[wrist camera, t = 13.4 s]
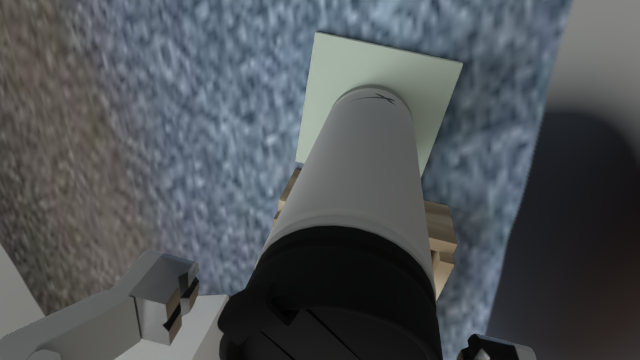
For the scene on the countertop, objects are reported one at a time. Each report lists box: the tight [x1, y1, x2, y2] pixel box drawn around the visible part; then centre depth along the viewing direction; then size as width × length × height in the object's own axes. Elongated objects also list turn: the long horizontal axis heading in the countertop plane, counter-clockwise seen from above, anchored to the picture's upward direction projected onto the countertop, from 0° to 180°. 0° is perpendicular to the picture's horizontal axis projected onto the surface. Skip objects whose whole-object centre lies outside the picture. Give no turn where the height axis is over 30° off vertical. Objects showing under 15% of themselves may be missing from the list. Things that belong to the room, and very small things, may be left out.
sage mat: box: [296, 31, 463, 177], centre depth 26 cm, size 10×10×1 cm
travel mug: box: [217, 85, 443, 360], centre depth 18 cm, size 6×7×20 cm
